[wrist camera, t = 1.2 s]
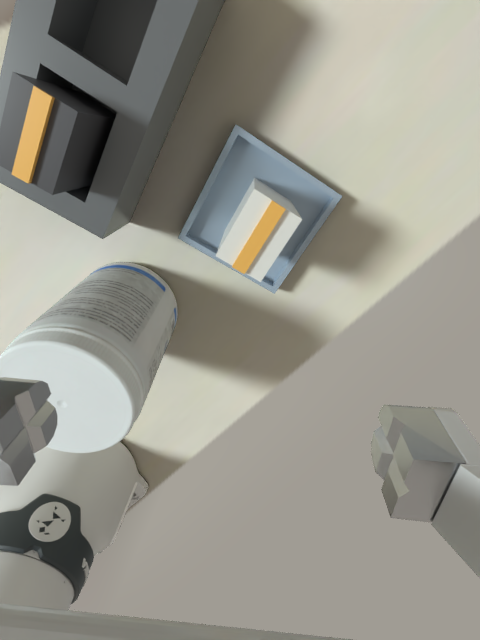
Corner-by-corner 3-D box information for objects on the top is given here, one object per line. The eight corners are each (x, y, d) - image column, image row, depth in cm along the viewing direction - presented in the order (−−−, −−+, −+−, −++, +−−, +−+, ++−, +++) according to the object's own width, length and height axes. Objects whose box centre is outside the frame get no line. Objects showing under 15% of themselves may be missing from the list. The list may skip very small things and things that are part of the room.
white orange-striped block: (259, 250, 31) (260, 283, 24) (224, 229, 30) (215, 257, 23) (290, 201, 29) (302, 220, 22) (254, 177, 28) (254, 189, 21)
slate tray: (273, 287, 33) (274, 293, 32) (181, 234, 31) (177, 238, 30) (338, 193, 29) (342, 196, 28) (236, 125, 27) (235, 124, 26)
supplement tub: (66, 282, 34) (-53, 370, 21) (147, 242, 32) (70, 311, 18) (122, 358, 38) (51, 471, 25) (197, 326, 35) (163, 433, 22)
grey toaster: (129, 222, 31) (79, 253, 22) (30, 166, 29) (-66, 176, 20) (227, -8, 23) (211, -99, 15) (103, -102, 22) (1, -270, 13)
